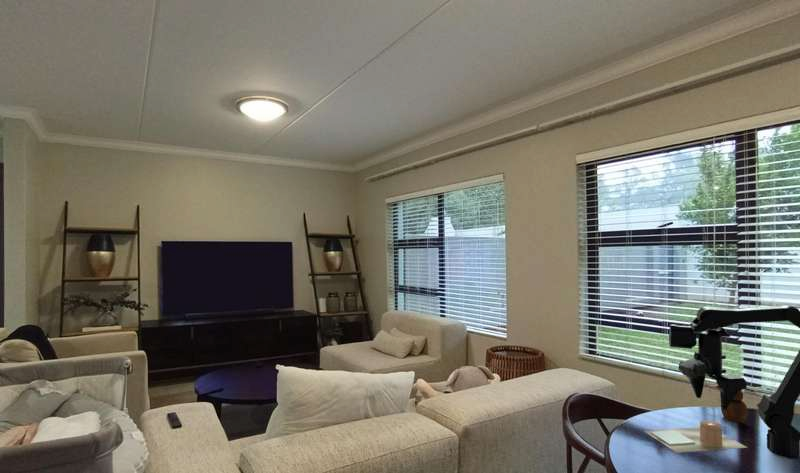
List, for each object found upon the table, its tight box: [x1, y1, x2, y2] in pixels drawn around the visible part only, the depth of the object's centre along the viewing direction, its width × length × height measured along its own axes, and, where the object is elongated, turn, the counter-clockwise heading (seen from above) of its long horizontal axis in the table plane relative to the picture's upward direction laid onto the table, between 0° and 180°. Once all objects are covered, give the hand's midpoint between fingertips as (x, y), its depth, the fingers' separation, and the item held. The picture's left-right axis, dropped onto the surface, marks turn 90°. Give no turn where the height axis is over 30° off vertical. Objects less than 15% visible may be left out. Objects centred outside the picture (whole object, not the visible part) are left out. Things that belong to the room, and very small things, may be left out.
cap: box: [699, 420, 723, 445], centre depth 130 cm, size 5×5×5 cm
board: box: [643, 426, 748, 454], centre depth 131 cm, size 14×22×1 cm, turn 97°
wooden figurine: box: [720, 390, 748, 424], centre depth 145 cm, size 7×6×15 cm
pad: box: [651, 430, 695, 446], centre depth 132 cm, size 8×8×1 cm
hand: (710, 403), depth 130 cm, fingers open, 9 cm apart
